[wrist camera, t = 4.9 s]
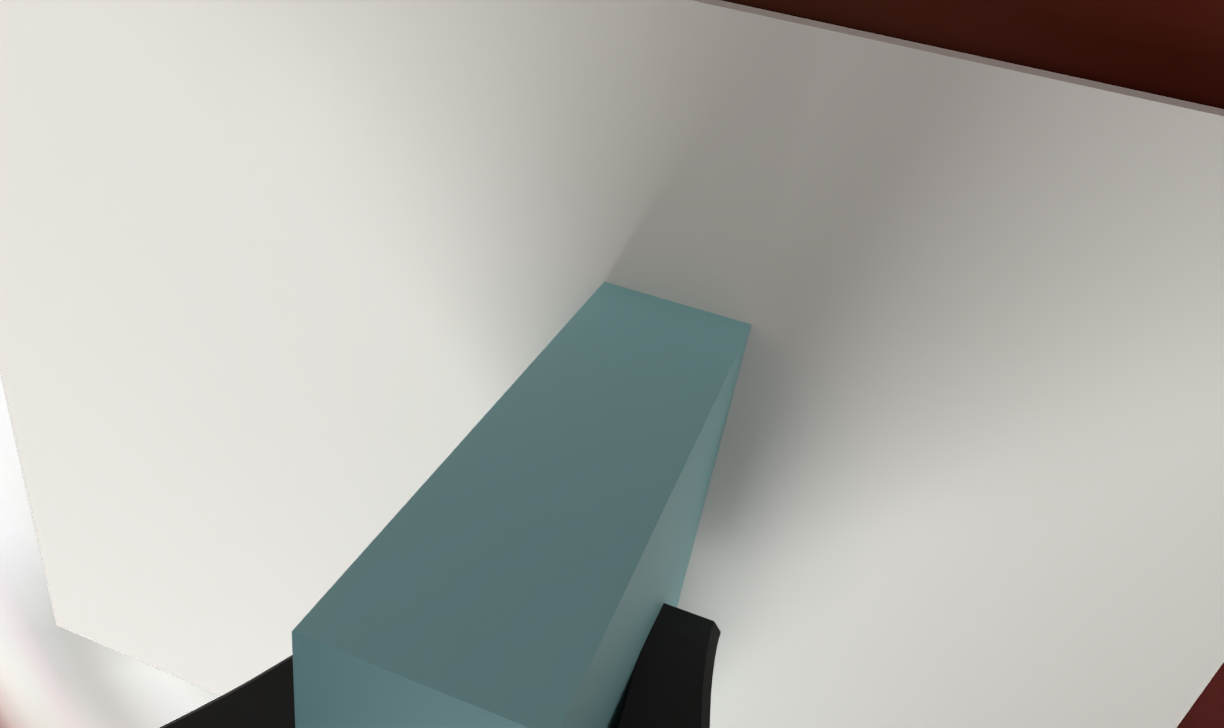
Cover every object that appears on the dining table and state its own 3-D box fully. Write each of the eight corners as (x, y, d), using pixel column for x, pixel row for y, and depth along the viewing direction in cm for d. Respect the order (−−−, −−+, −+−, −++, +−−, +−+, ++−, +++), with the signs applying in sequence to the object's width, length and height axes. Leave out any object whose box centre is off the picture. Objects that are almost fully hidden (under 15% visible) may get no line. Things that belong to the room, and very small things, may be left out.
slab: (635, 763, 14) (461, 1232, 9) (531, 721, 15) (310, 1152, 10) (751, 324, 10) (554, 738, 5) (603, 280, 11) (291, 631, 6)
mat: (968, 992, 15) (967, 1017, 15) (72, 611, 19) (56, 625, 18) (1536, 177, 8) (1562, 190, 8) (-93, -177, 12) (-123, -178, 11)
